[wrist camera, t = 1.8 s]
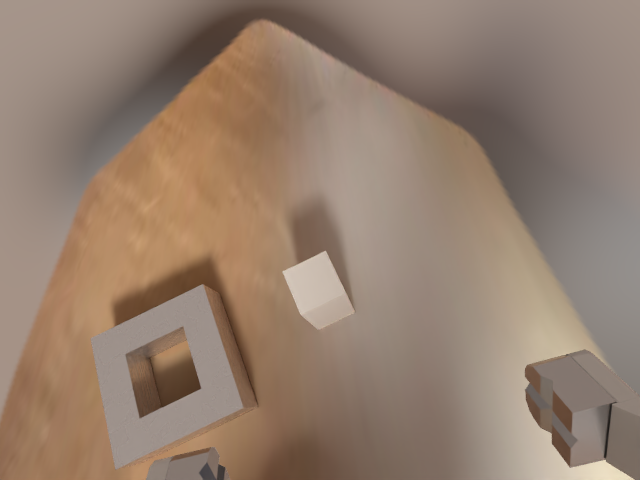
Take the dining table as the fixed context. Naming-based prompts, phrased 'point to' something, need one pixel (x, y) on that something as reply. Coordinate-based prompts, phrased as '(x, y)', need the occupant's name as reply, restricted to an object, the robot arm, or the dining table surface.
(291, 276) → the plug
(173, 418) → the grey square socket base
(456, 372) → the dining table surface
